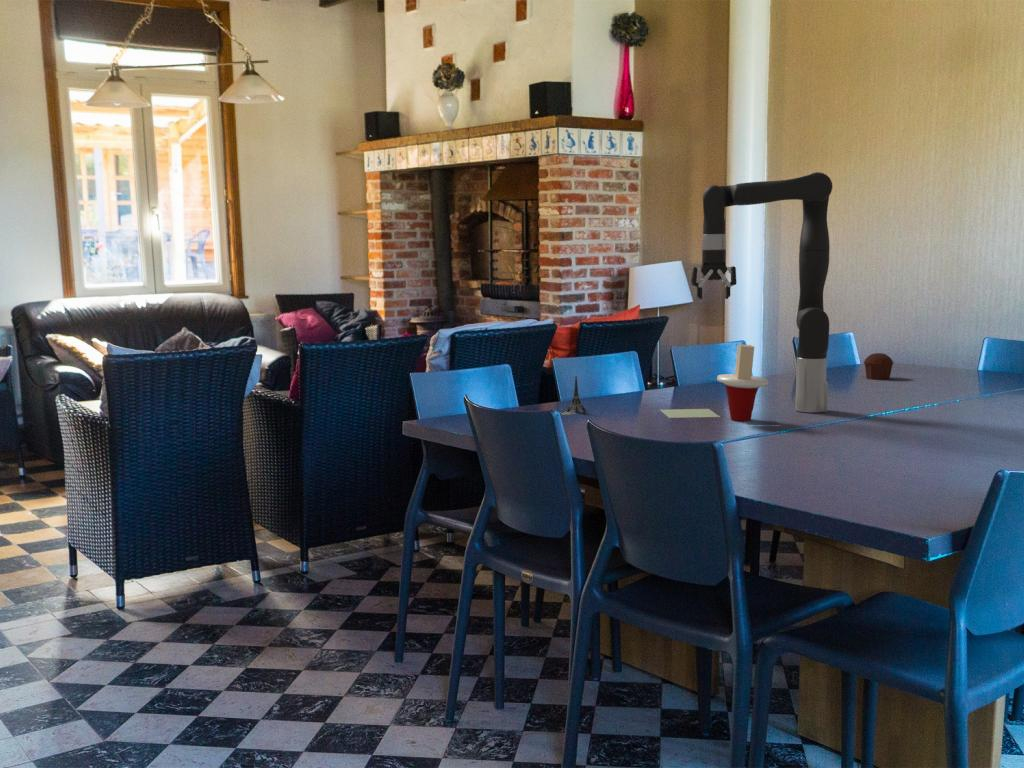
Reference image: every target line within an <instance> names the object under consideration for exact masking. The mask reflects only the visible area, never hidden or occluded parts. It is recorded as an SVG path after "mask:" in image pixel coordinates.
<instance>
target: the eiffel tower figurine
mask: <svg viewBox="0 0 1024 768" xmlns="http://www.w3.org/2000/svg"><path fill="white" fill-rule="evenodd" d="M574 379H575V380H574V391H573V396H572V400H571V402H570V403H569V406H568V407H567V408H568V409H566V410H564V411H565V412H563V413H561V412H560V411H559V412H560V413H561V414H560V415H562V416H563V415H564V416H571V415H573V414H575V415H578V414H581V416H589V415H587V414H585V413H588V411H587V409H586V408H585V407H584V405H583V403H582V401H581V400H580V396H579V390H578V389H579V388H578V376H577V375H575V376H574ZM571 408H573V410H571ZM579 408H580V409H581V410H579ZM560 410H562V408H560ZM562 411H563V410H562ZM583 414H585V415H583Z"/></svg>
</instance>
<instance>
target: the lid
mask: <svg viewBox="0 0 1024 768" xmlns="http://www.w3.org/2000/svg"><path fill="white" fill-rule="evenodd" d="M736 351H737V352H736V359H735V366H734V367H735V369H734V374H730V373H728V374H727V373H726V374H718V375H717V378H716V380H717V382H719V383H722V384H724V383H725V384H730V385H737V386H747V387H759V388H761V387H762V388H763V387H767V386H768V384H769V380H768V379H766V378H763V377H760V376H759V377H758V376H755V375H754V376H753V373H752V372H753V365H754V363H753V362H754V356H755V355H754V353H755V346H754V345H752V344H751V345H750V344H739V343H738V344H737V350H736ZM725 384H724V385H725Z"/></svg>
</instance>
